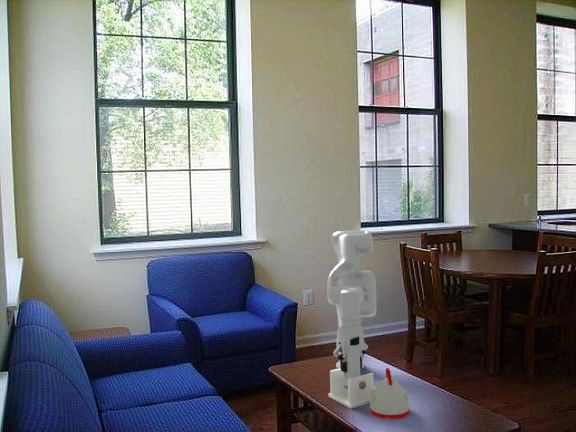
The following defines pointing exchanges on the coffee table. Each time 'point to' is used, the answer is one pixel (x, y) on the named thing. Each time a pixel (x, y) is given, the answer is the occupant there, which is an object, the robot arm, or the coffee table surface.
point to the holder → (351, 389)
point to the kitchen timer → (389, 399)
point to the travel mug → (352, 361)
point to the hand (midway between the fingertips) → (351, 369)
